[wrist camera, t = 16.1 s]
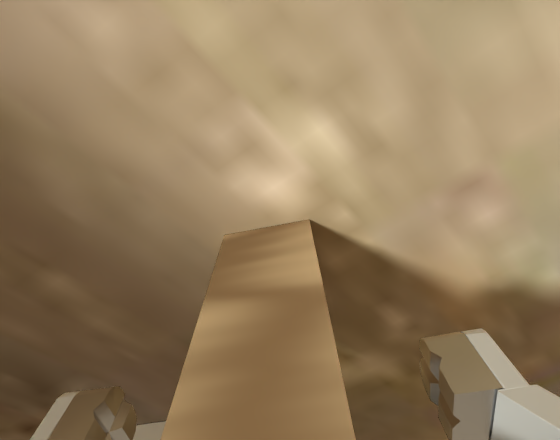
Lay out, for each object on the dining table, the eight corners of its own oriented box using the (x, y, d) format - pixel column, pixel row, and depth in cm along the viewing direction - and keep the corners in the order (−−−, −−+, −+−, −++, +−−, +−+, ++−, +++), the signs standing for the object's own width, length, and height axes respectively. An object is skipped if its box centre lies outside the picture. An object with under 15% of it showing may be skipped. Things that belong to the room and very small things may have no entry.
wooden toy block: (245, 301, 15) (205, 596, 6) (224, 235, 13) (138, 508, 5) (321, 289, 14) (380, 579, 6) (309, 219, 13) (364, 481, 5)
